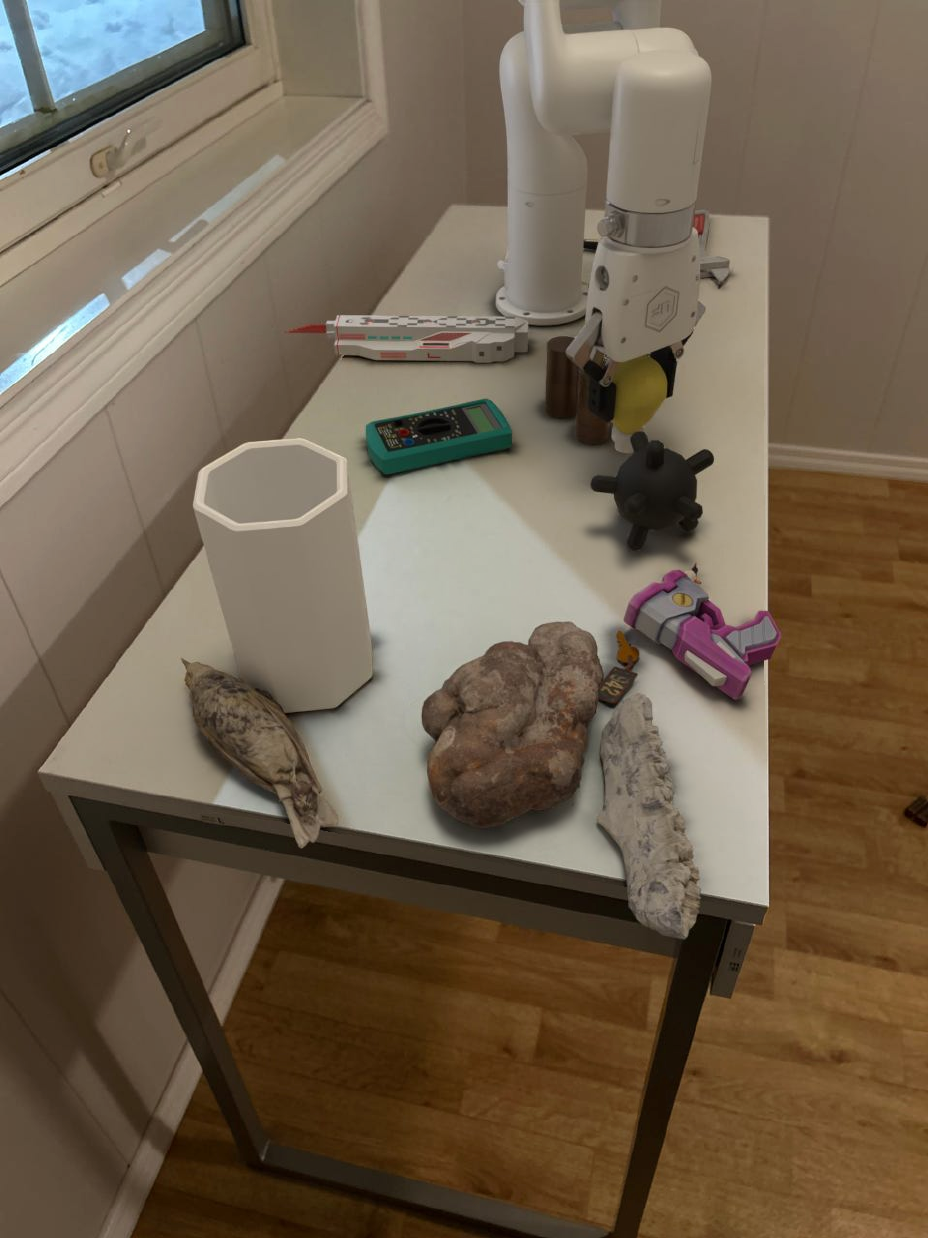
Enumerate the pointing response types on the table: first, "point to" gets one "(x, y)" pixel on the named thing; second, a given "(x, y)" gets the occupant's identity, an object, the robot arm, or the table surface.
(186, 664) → the bird model
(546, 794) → the rock
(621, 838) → the fossil
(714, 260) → the adjustable wrench
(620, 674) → the key tag
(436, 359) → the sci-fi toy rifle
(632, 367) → the yellow light bulb
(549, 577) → the table surface
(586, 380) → the peg mid
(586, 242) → the fountain pen
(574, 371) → the peg far
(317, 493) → the cup
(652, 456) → the toy ball
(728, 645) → the toy gun
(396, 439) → the digital multimeter
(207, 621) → the table surface
